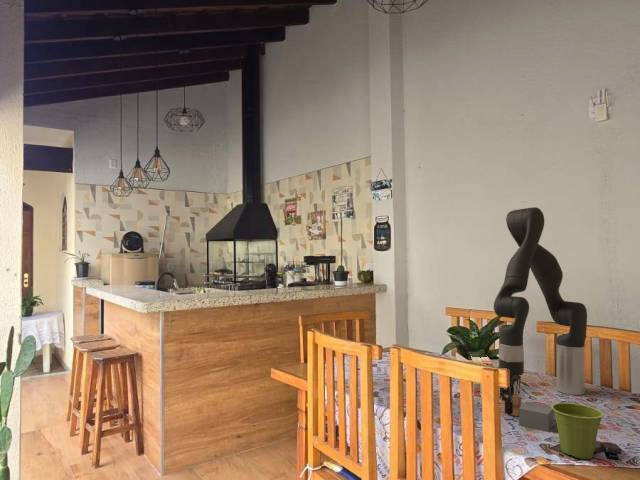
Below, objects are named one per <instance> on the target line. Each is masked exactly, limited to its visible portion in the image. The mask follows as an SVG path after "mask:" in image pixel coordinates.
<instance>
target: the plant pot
mask: <svg viewBox="0 0 640 480" xmlns="http://www.w3.org/2000/svg"><path fill="white" fill-rule="evenodd" d="M550 406H551V408H552V409H553V410H554V419H555V421H556V427H557V432H558V433H557V434H558V440H559V445H560V450H562V451H563V452H565V453H567V454H569V455H572V456H571V457H573V456H575V457H577V458H580V459H579V460H590V459H592V458H593V457H594V453H595V448H596V442H597V437H598V430H599V427H600V425H601V421H602V420H601V419H602V418H604V413H603V412H602V411H601V410H599V409H597V408H595V407H592V406H588V405H585V404H580V403H574V402H573V403H571V402H558V403H557V402H556V403H554V404H551V405H550ZM562 451H561V452H562ZM563 452H562V453H563ZM575 457H574V458H575ZM577 458H576V459H577Z"/></svg>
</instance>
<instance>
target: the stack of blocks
mask: <svg viewBox="0 0 640 480" xmlns="http://www.w3.org/2000/svg"><path fill="white" fill-rule="evenodd" d="M471 359H472V361H473V362H477V363H483V364H486V365H490V366H492V367H494V366H493V362H492V361H491V359H490V358H489V357H488V356H487V357H481V358H480V357H472V356H471ZM473 396H474V397H480V384H474V394H473Z"/></svg>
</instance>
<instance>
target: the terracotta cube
mask: <svg viewBox="0 0 640 480" xmlns="http://www.w3.org/2000/svg"><path fill="white" fill-rule="evenodd" d="M507 397H508V395H507ZM521 406H522V396H521V395H519V396H517V395H513V413H512V414H507V413H505V401H502V396H500V413H501V412H502V413H501V414H505V415H509V416H514V417H519V408H520V407H521Z"/></svg>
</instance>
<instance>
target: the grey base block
mask: <svg viewBox="0 0 640 480" xmlns="http://www.w3.org/2000/svg"><path fill="white" fill-rule="evenodd" d="M551 406H552V405H546V404H541V403H536V402H530V401H525V402H524V403H523V404H521V407H520V408H519V415H518V425H519V426H521V427H522V426H523V427H525V428H530V429H533V430H538V431H544V432H549V431H550V430H551V429H552V427H553V426H555V415H554V410H553V409H552V408H551Z"/></svg>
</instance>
